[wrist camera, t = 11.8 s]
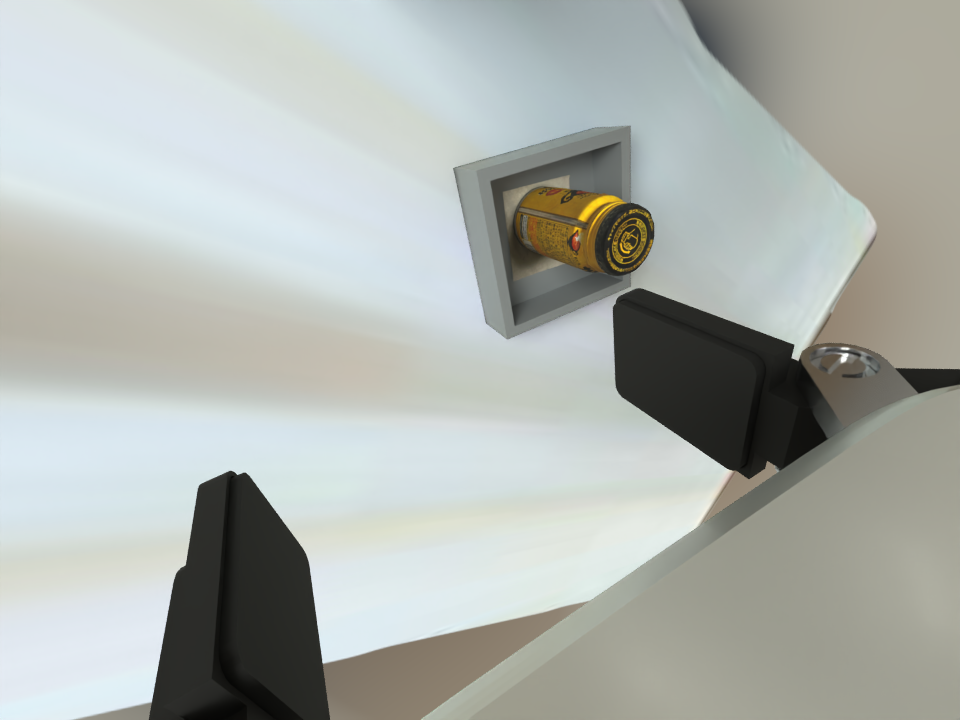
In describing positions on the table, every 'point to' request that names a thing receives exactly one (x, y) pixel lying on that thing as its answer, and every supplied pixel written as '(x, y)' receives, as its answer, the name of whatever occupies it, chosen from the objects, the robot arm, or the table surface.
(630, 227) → the condiment
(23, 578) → the table surface
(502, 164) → the box
